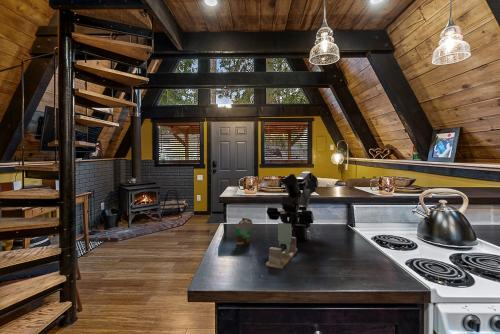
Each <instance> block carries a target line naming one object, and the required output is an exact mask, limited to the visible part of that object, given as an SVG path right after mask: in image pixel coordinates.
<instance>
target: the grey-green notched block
mask: <svg viewBox="0 0 500 334" xmlns="http://www.w3.org/2000/svg"><path fill="white" fill-rule="evenodd" d="M291 237H292V228H291V224H288V223H283V222H278V223H277V241H278V247H279V246H280V245H281V244H286V249H285V250H284V251H285V252H288V251H289V250H290V243H291Z"/></svg>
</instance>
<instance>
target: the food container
mask: <svg viewBox="0 0 500 334" xmlns="http://www.w3.org/2000/svg"><path fill="white" fill-rule="evenodd" d="M252 220H253V219H251V218H246V217H241V220H240V221H239V222H238V223H235V230H236V231H235V233H236V234H235V235H236V247H244V246H248V245H251V241H252V240H251V237H252V227H253V226H254V224H253V223H254V222H253V221H252Z"/></svg>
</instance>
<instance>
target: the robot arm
mask: <svg viewBox="0 0 500 334" xmlns="http://www.w3.org/2000/svg"><path fill="white" fill-rule="evenodd" d="M283 186H284V188H285V193H287V196H282V197H281V201H280V205H281V206H282V207H281V208H282V210H280V211H279V210H278V207H272V206H268V208H266V215H267V216H268V219H269V220H272V221H278V219H280V220H281V221H280V222H281V223H288V224H291V237H296V242H298V243H302V242H305V241H309V240H310V238H309V237H307V236H308V232H307V231H308V229H310V228H311V225H312V224H314V220H315V218H314V213H313V211H312V210H308V207H309V203H310V200H311V196H312V194H314V193H315V192H316V191H317V189H318V187H319V180H318V177H316V176H315V175H314V174H313V172H312V171H302V172H301V173H300V174H299V175H298V176H296V175H295V173H289V175H288V176H286V177H284V178H283Z"/></svg>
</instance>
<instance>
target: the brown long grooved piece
mask: <svg viewBox="0 0 500 334" xmlns="http://www.w3.org/2000/svg"><path fill="white" fill-rule="evenodd" d="M285 249H286V244H281V245H280V246H279V245H278V247H275V246H274V247H273V246H270V247H269V248H268V260H267V262H265V266H266V267H271V268H276V269H281V270H283V269H284V267H285V266H286V265H287V264H288V263H289V262H290V260H292V258H293V257H294V255H295V254H296V253H297V251H298V248H297V241H296V237H292V236H291V243H290V250H289V251H288V252H285V251H284V250H285Z"/></svg>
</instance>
